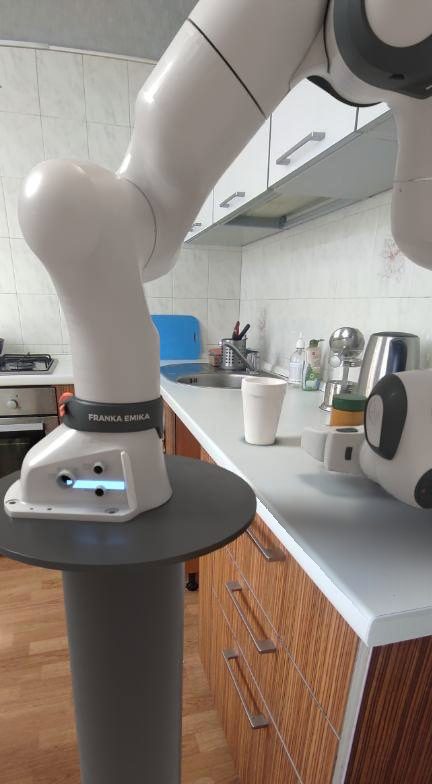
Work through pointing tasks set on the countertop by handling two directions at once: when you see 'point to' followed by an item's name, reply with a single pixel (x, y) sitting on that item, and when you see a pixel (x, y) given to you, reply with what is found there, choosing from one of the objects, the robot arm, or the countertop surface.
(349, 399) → the lid
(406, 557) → the countertop surface
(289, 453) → the countertop surface
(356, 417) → the jar
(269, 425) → the foam cup
